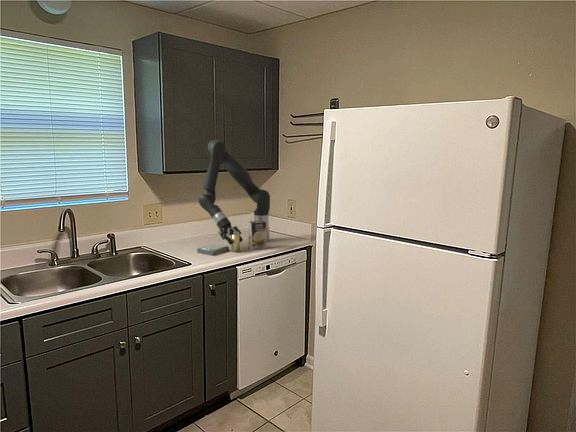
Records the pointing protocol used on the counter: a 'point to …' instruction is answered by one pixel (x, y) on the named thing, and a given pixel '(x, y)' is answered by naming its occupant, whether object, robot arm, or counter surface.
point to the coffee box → (257, 235)
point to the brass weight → (235, 242)
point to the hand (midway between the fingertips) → (236, 242)
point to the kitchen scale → (213, 249)
